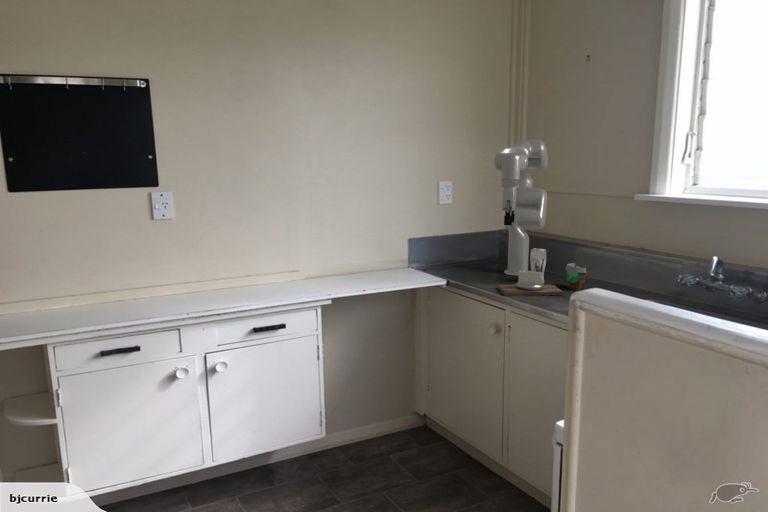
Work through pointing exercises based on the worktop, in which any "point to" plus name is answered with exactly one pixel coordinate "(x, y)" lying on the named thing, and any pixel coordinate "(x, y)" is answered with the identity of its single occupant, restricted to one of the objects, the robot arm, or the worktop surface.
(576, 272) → the food container
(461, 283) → the worktop surface
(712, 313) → the worktop surface
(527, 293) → the dial board
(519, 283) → the dial
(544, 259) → the beer glass
